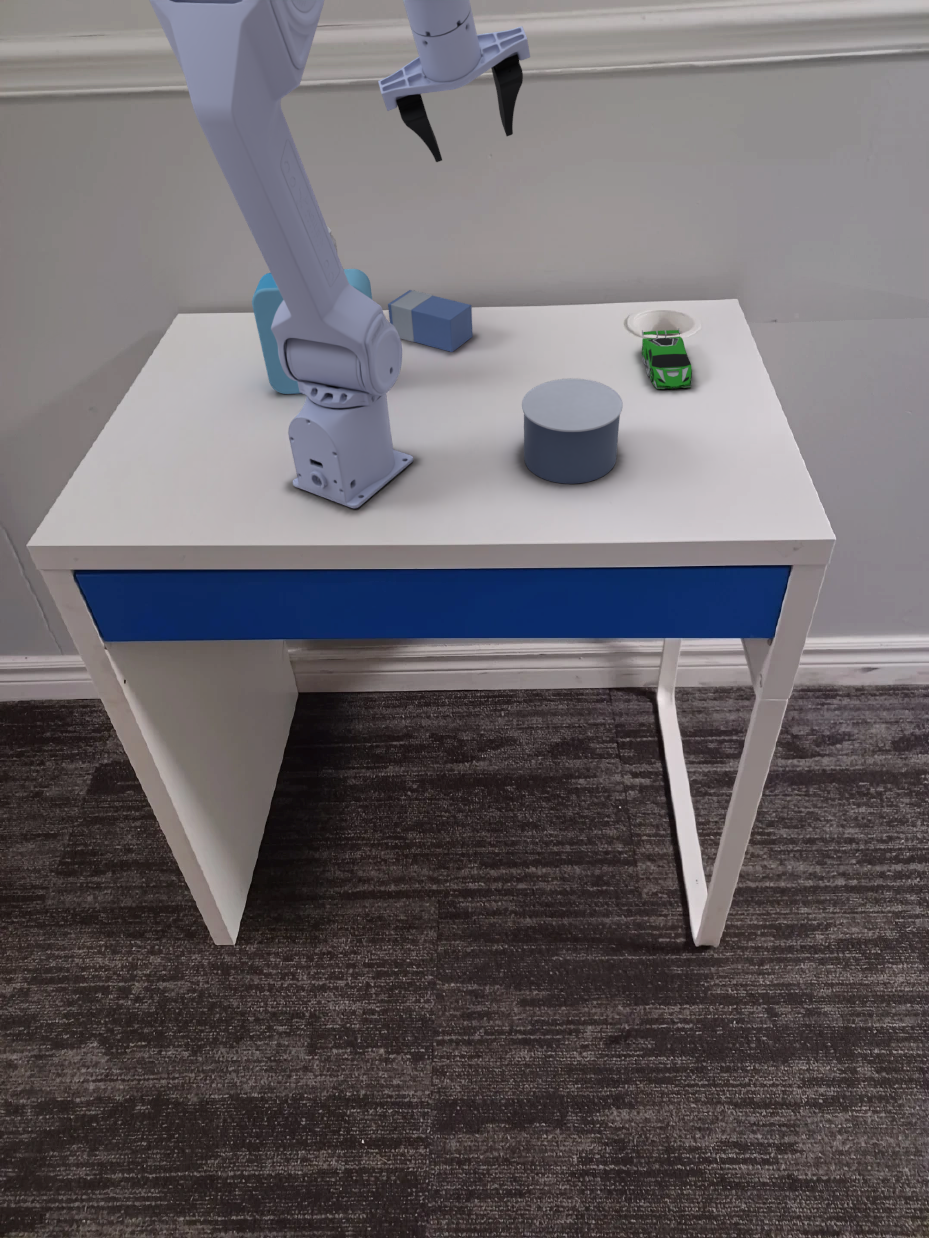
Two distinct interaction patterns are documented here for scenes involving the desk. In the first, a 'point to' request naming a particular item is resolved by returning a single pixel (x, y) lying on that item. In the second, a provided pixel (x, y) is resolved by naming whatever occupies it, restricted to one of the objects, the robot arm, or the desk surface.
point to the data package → (264, 311)
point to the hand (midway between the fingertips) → (472, 142)
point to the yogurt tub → (571, 430)
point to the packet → (431, 320)
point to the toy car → (666, 360)
